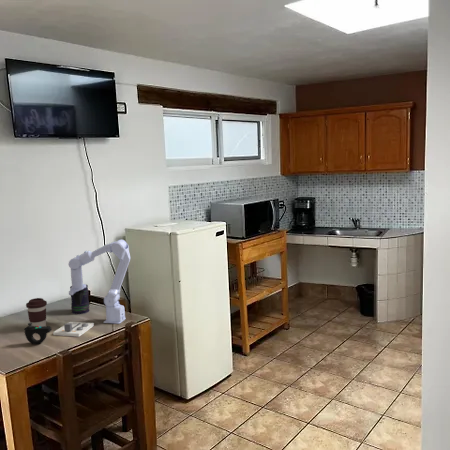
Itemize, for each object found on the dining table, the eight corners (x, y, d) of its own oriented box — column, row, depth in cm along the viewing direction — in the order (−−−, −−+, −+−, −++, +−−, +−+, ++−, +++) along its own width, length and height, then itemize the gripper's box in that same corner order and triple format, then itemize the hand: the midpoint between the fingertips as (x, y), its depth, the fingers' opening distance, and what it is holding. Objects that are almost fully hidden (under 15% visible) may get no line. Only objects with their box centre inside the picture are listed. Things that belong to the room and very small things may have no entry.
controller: (27, 341, 221) (25, 321, 219) (53, 341, 221) (52, 321, 219) (24, 345, 216) (22, 325, 215) (50, 344, 216) (48, 324, 215)
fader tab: (72, 330, 230) (71, 323, 229) (70, 331, 228) (69, 324, 227) (66, 329, 230) (66, 323, 230) (64, 331, 228) (64, 324, 228)
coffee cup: (42, 322, 247) (40, 295, 244) (52, 326, 240) (50, 299, 238) (24, 328, 239) (22, 300, 237) (34, 332, 233) (31, 303, 231)
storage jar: (70, 310, 266) (68, 285, 264) (88, 307, 270) (86, 283, 268) (72, 315, 257) (70, 289, 255) (90, 312, 261) (89, 287, 259)
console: (93, 325, 240) (93, 321, 240) (79, 336, 226) (78, 332, 225) (69, 324, 243) (69, 320, 243) (53, 335, 228) (53, 330, 228)
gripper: (77, 276, 252) (78, 300, 254) (62, 283, 238) (64, 308, 240) (89, 276, 251) (90, 300, 253) (75, 283, 237) (77, 308, 239)
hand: (78, 304), depth 246 cm, fingers closed
